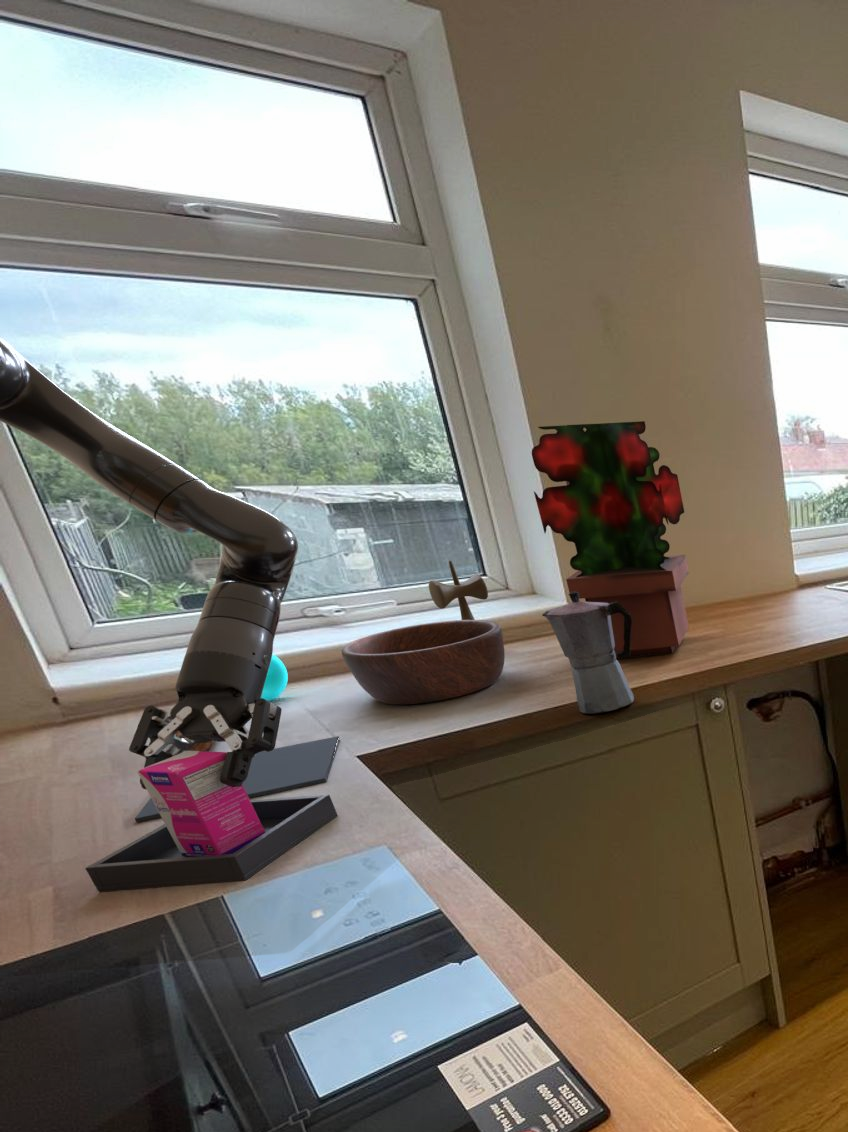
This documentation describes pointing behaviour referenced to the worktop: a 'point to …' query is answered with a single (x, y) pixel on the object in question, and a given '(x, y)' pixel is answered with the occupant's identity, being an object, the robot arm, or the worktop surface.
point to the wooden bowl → (427, 661)
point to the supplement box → (201, 804)
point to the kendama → (458, 592)
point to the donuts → (275, 679)
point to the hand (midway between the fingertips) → (191, 787)
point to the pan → (164, 865)
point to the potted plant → (617, 527)
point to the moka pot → (593, 652)
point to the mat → (278, 771)
